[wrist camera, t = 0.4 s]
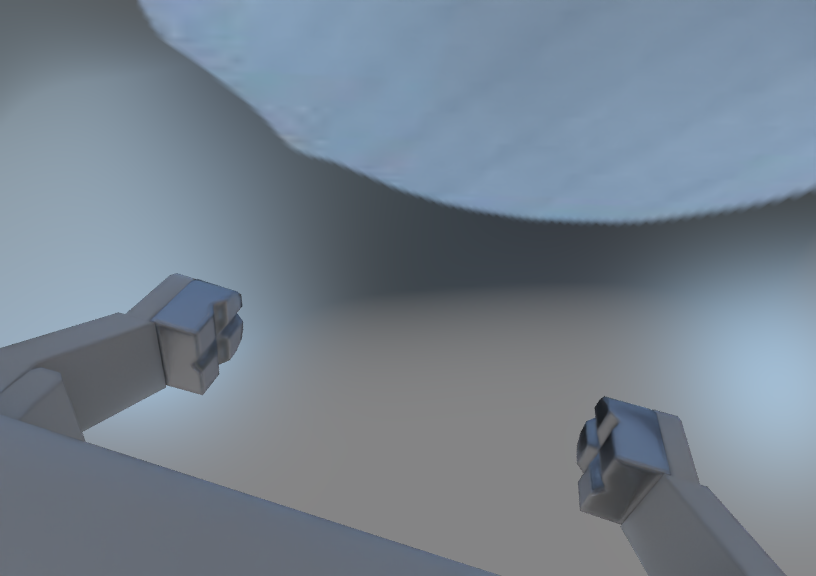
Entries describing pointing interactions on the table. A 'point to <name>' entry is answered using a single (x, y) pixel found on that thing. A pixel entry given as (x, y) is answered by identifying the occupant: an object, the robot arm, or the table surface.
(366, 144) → the table surface
